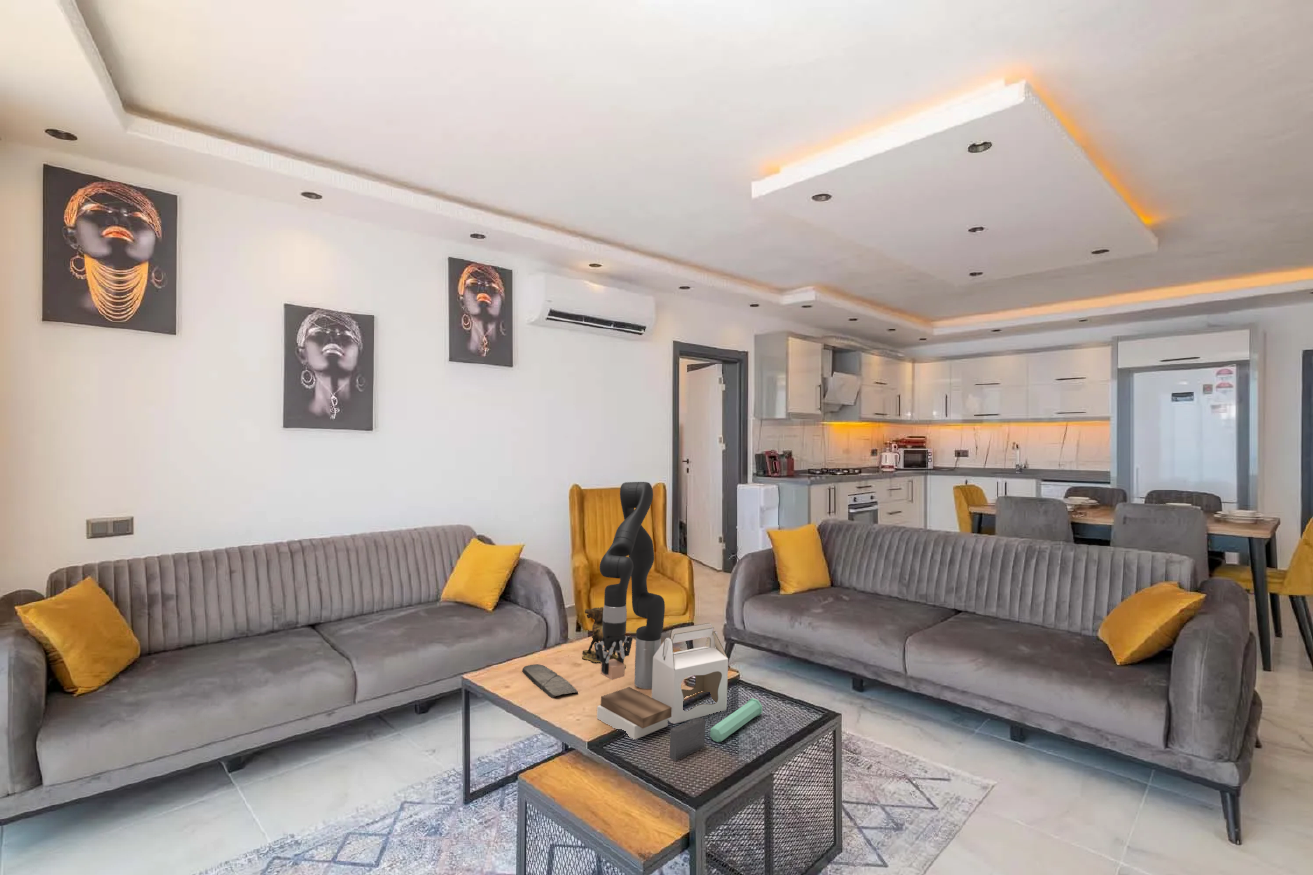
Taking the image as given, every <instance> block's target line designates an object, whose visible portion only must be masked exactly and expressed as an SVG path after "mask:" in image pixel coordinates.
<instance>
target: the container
mask: <svg viewBox="0 0 1313 875" xmlns="http://www.w3.org/2000/svg"><path fill="white" fill-rule="evenodd" d="M761 714H763V705H762V703H761V702H760V701H759V699H758V698H757V699H756V698H754V697H751V698H750V699H749V700H748V701H746V704H743V705H742V706H740V707H739V708H738V709H737V710H735V711H733V712H732V713H731V714H729V715H728V716H726V717H725V718H723V719H722V720H720V721H719V722H718V723H716V724H715V725H713V726H712V727H711V728H710V730H709V731H710V733H709V734H710V735H709V736H710V737H711V739H712V740H713V741H714V742H717V743H721V742H722V741H724V740H726V739H727V738H729V737H730V736H731V735H732V734H733V733H735V732H736V731H737V730H739V729H740V728H742V727H743V726H744V725H746V724H747V723H748V722H750V721H751V720H753V719H754V718H755V717H756V718H757V717H759V716H760V715H761Z"/></svg>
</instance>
